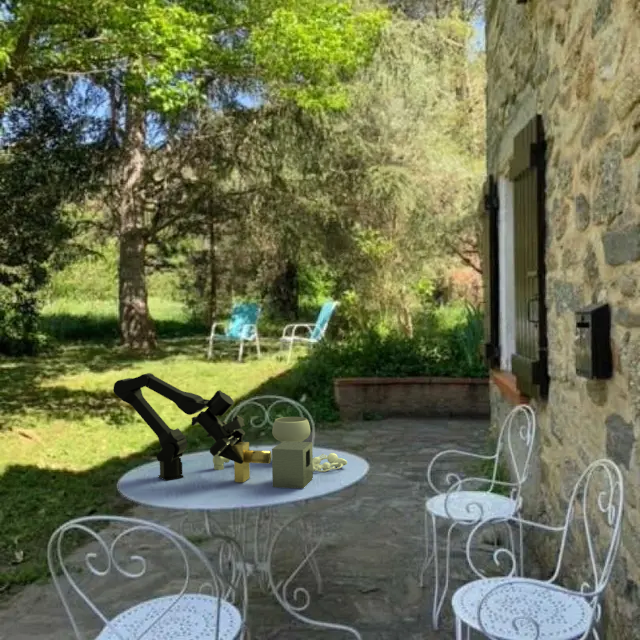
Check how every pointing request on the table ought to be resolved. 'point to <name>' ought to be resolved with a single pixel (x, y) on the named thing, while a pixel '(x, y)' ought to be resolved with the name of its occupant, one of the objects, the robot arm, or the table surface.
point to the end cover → (248, 460)
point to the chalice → (291, 429)
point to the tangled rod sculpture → (326, 466)
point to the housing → (292, 464)
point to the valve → (219, 462)
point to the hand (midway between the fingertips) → (245, 460)
